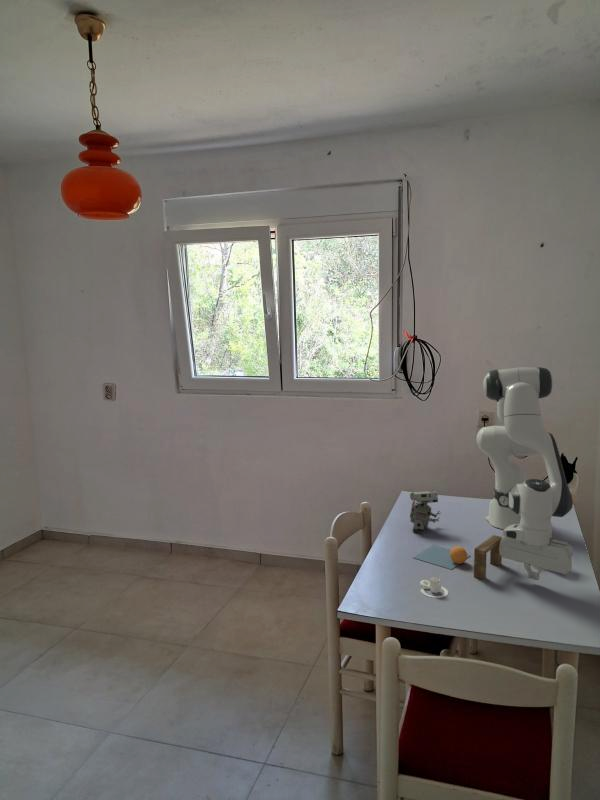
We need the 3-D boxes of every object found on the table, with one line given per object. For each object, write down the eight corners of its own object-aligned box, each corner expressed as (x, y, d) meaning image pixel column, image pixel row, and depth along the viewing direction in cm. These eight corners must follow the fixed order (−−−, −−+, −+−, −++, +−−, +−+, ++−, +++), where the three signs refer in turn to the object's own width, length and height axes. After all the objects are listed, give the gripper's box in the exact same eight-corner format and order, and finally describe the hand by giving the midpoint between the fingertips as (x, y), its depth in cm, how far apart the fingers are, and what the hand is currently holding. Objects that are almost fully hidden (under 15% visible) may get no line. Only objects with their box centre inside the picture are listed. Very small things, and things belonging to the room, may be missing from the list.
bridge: (473, 576, 167) (474, 548, 166) (492, 561, 178) (493, 534, 177) (483, 579, 165) (483, 551, 164) (501, 564, 176) (502, 537, 175)
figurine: (439, 534, 202) (440, 496, 200) (408, 532, 205) (409, 494, 203) (440, 526, 210) (440, 489, 208) (410, 523, 214) (410, 487, 212)
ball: (472, 550, 177) (465, 562, 179) (457, 540, 179) (450, 553, 182) (466, 556, 173) (459, 569, 175) (451, 547, 175) (444, 559, 177)
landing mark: (433, 545, 192) (433, 544, 192) (470, 555, 183) (470, 555, 183) (413, 558, 182) (413, 557, 182) (451, 569, 173) (451, 569, 173)
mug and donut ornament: (416, 585, 163) (416, 572, 163) (442, 584, 164) (442, 571, 163) (424, 600, 155) (425, 586, 154) (452, 598, 155) (452, 585, 155)
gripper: (576, 540, 156) (573, 585, 158) (505, 523, 169) (504, 565, 171) (569, 546, 151) (567, 593, 153) (497, 529, 165) (496, 572, 167)
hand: (533, 578), depth 162 cm, fingers closed
